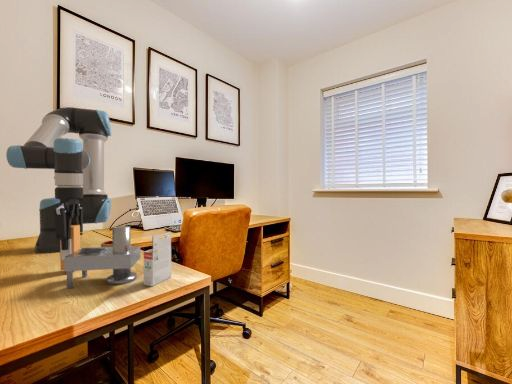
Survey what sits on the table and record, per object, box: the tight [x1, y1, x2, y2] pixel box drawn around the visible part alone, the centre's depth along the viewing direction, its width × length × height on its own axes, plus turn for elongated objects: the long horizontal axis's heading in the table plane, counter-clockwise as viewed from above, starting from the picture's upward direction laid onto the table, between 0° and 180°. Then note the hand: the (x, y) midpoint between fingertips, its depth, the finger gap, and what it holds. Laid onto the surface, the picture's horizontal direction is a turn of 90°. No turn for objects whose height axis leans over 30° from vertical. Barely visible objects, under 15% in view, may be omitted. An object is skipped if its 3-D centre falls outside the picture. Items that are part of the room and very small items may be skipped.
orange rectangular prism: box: [59, 225, 81, 271], centre depth 83 cm, size 4×4×14 cm
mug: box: [100, 240, 113, 247], centre depth 100 cm, size 12×7×7 cm, turn 37°
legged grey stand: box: [64, 225, 141, 290], centre depth 76 cm, size 17×10×16 cm, turn 100°
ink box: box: [143, 230, 172, 287], centre depth 76 cm, size 4×8×15 cm, turn 158°
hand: (70, 256), depth 84 cm, fingers closed on orange rectangular prism, 4 cm apart
